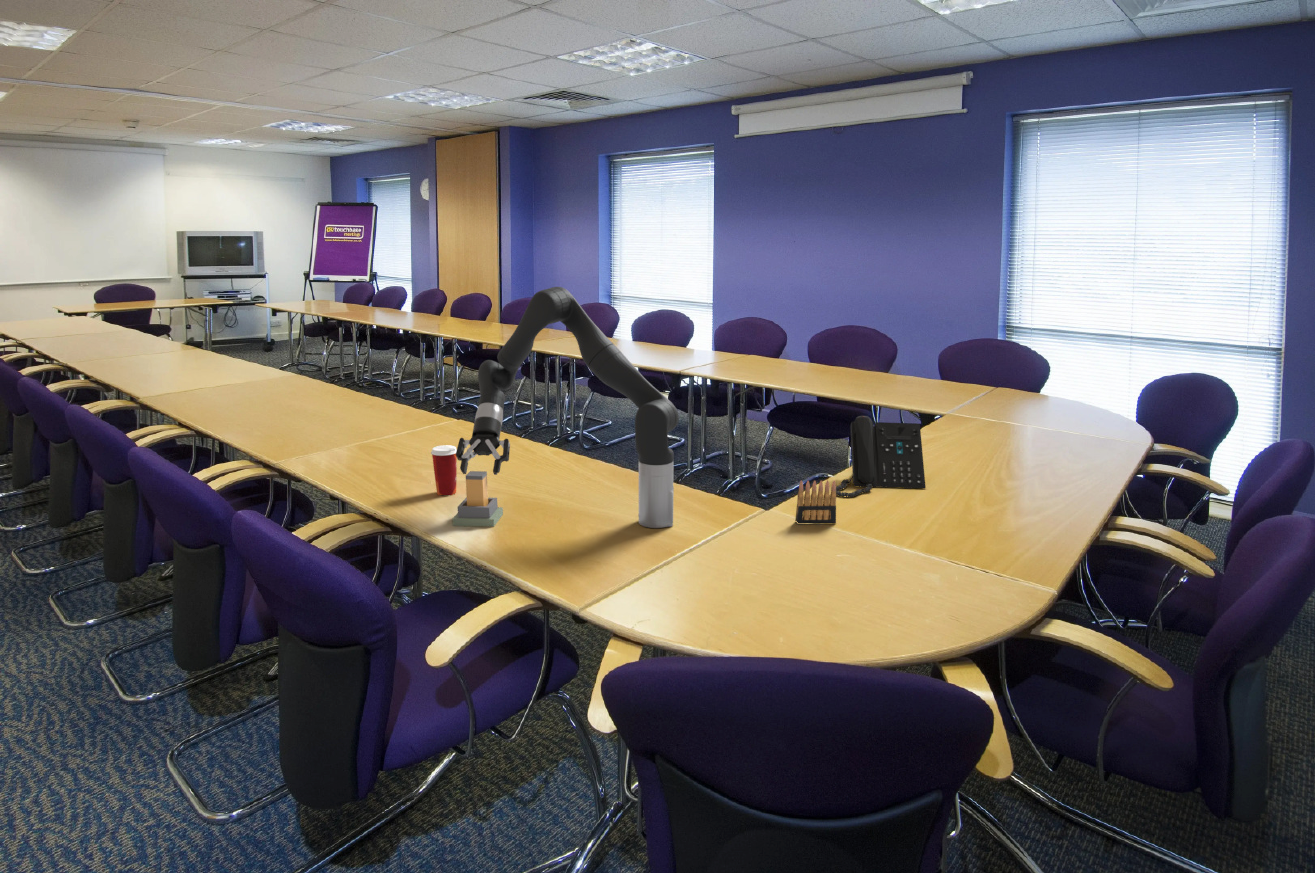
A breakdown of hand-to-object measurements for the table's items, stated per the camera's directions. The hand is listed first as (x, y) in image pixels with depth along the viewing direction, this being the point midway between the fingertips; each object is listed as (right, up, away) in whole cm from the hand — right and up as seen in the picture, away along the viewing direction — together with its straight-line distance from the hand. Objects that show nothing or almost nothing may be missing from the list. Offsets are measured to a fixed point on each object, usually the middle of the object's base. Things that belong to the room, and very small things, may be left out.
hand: (479, 473), depth 218 cm
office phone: (+116, -6, +34) cm, 121 cm away
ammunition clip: (+91, -14, -1) cm, 92 cm away
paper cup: (-15, -7, +23) cm, 28 cm away
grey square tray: (0, -13, 0) cm, 13 cm away
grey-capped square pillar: (0, -11, -1) cm, 11 cm away
